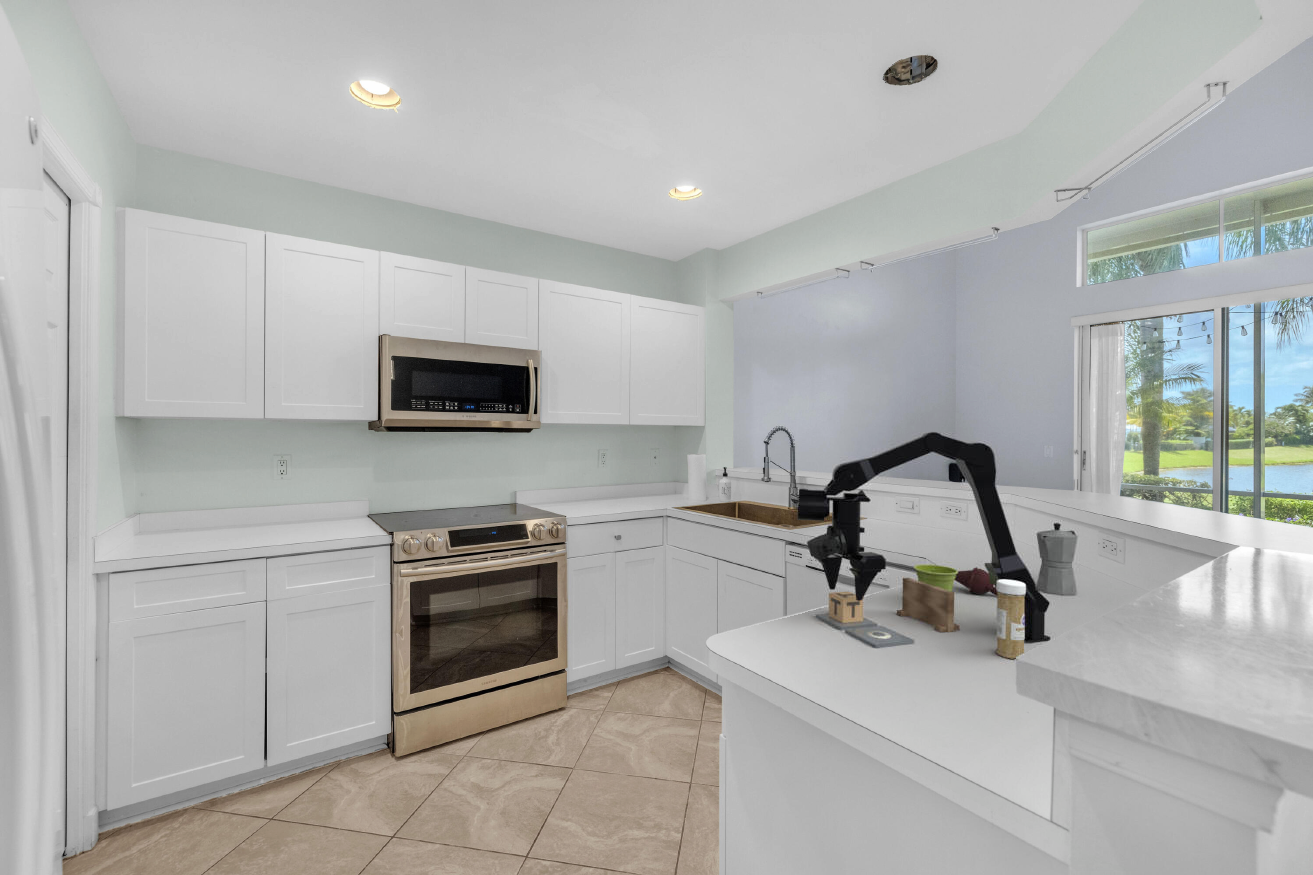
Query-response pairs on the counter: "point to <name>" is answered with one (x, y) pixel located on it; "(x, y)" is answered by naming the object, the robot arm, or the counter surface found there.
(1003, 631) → the sprinkles bottle
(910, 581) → the screen
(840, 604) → the letter cube
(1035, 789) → the counter surface
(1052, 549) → the coffeepot
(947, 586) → the plant pot
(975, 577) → the dark red bulbous piece
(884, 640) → the tile
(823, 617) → the tile
